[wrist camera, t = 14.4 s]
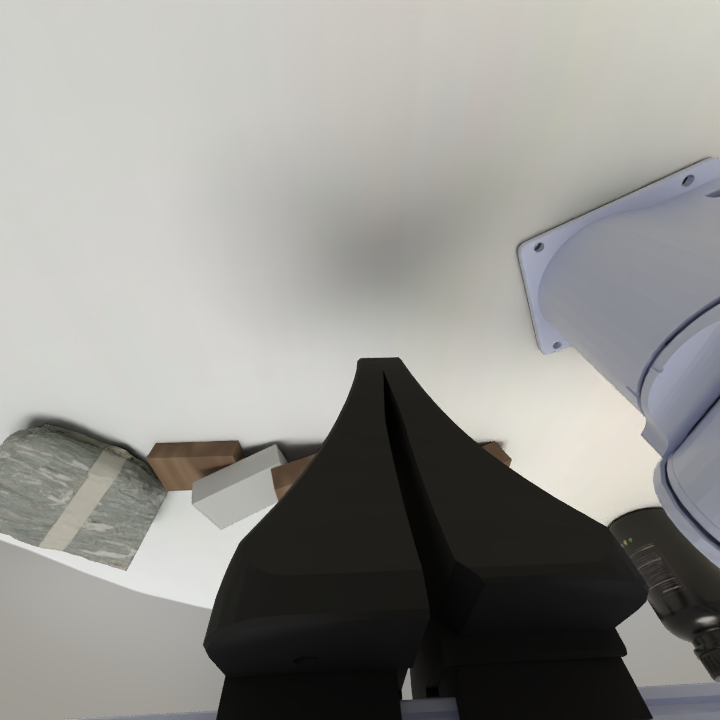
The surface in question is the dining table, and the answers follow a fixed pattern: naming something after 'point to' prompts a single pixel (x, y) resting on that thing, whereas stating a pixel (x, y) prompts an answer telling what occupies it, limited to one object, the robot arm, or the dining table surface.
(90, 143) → the dining table surface
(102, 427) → the dining table surface
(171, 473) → the domino
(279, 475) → the domino
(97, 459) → the decorative stone
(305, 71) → the dining table surface
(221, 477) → the domino
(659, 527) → the supplement bottle
